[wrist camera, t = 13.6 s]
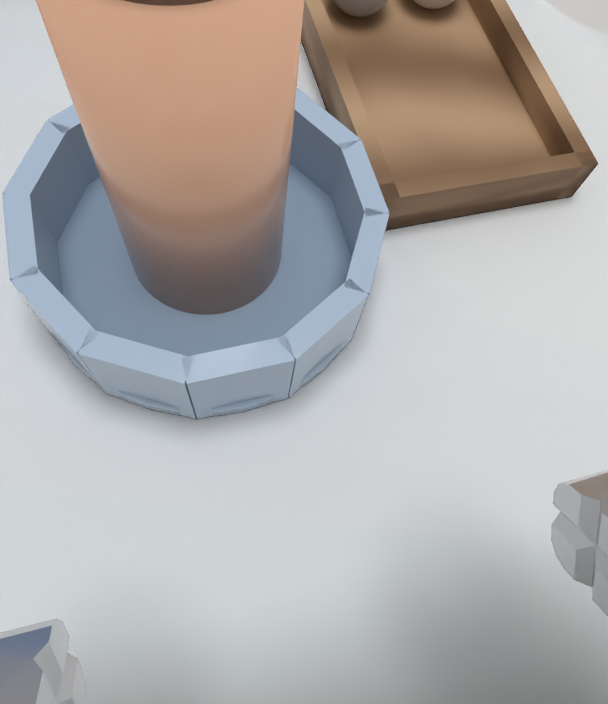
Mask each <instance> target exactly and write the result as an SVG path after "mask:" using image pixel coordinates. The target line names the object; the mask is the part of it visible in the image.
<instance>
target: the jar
mask: <svg viewBox="0 0 608 704" xmlns="http://www.w3.org/2000/svg"><path fill="white" fill-rule="evenodd" d="M36 2H37V5H38V8H39V11H40V13H41V16H42V19H43V22H44V24H45V27H46V30H47V33H48V35H49V38H50V41H51V44H52V46H53V49H54V52H55V54H56V57H57V60H58V63H59V65H60V68H61V71H62V74H63V76H64V79H65V82H66V85H67V87H68V90H69V93H70V96H71V98H72V101H73V104H74V107H75V109H76V112H77V115H78V118H79V120H80V123H81V126H82V128H83V131H84V134H85V137H86V139H87V142H88V145H89V148H90V150H91V153H92V156H93V159H94V161H95V164H96V167H97V170H98V172H99V175H100V178H101V181H102V183H103V186H104V189H105V191H106V194H107V197H108V200H109V202H110V205H111V208H112V211H113V213H114V216H115V219H116V222H117V224H118V227H119V230H120V233H121V235H122V238H123V241H124V244H125V246H126V249H127V252H128V255H129V257H130V260H131V263H132V265H133V268H134V271H135V273H136V275H137V278H138V279H139V281H140V282H141V284H142V285H143V287H144V288H145V289H146V290H147V291H148V292H149V293H150V294H151V295H152V296H153V297H154V298H155V299H157V300H158V301H160V302H161V303H163V304H165V305H167V306H169V307H171V308H173V309H176V310H179V311H182V312H186V313H191V314H200V315H211V314H220V313H225V312H229V311H233V310H235V309H238V308H240V307H243V306H245V305H247V304H248V303H250V302H252V301H253V300H255V299H256V298H257V297H259V296H260V295H261V294H262V293H263V292H264V291H265V290H266V289H267V288H268V286H269V285H270V284H271V283H272V281H273V279H274V278H275V276H276V274H277V271H278V269H279V266H280V262H281V255H282V243H283V232H284V221H285V210H286V199H287V188H288V176H289V165H290V154H291V143H292V132H293V120H294V109H295V98H296V87H297V76H298V65H299V53H300V42H301V31H302V20H303V9H304V0H36Z"/></svg>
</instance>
